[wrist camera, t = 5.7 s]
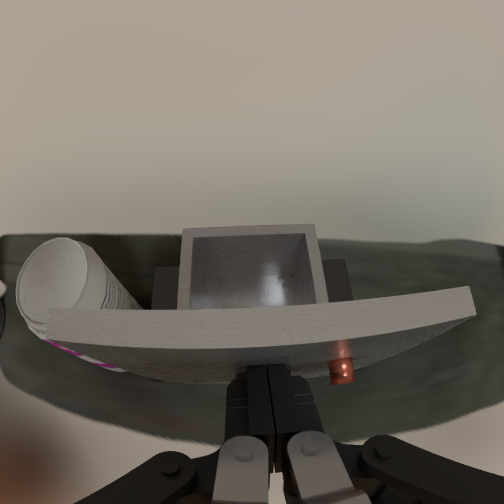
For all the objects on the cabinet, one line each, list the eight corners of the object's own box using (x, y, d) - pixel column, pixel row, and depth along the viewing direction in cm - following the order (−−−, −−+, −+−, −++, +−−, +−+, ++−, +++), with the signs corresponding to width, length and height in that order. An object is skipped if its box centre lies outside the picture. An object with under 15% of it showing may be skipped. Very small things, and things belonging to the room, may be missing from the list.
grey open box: (173, 390, 27) (139, 378, 18) (177, 274, 34) (154, 222, 25) (335, 381, 27) (373, 365, 19) (319, 268, 34) (341, 215, 26)
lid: (167, 369, 19) (167, 403, 18) (50, 306, 7) (41, 392, 6) (345, 359, 20) (349, 393, 18) (468, 285, 7) (486, 362, 6)
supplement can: (137, 385, 27) (57, 356, 14) (82, 351, 28) (-3, 301, 15) (169, 321, 31) (116, 251, 18) (112, 294, 32) (48, 219, 19)
